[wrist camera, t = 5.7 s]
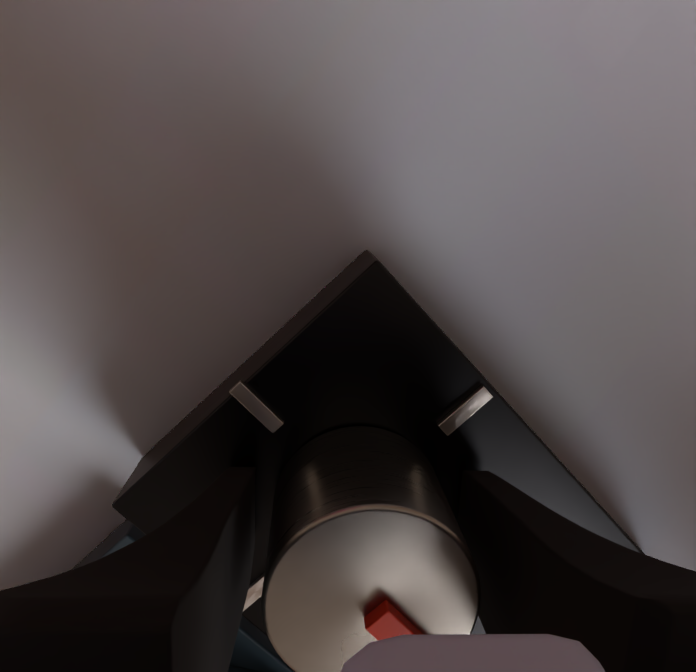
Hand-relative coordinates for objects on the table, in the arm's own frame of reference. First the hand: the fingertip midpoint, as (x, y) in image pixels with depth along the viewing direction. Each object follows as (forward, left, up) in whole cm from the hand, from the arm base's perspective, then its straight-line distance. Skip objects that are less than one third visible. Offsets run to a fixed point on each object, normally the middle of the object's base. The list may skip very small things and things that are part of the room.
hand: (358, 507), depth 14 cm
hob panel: (+2, 0, -3) cm, 4 cm away
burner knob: (0, 0, 0) cm, 0 cm away
